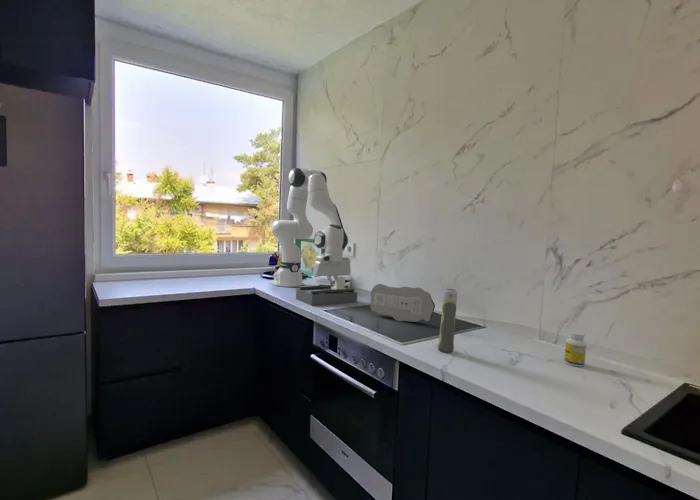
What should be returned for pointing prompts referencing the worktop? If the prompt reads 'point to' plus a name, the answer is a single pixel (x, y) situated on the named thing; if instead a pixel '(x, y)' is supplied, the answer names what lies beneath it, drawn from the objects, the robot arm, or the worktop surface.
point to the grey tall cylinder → (448, 321)
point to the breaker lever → (339, 283)
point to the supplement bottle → (575, 349)
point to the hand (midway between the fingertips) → (331, 284)
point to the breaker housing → (325, 295)
